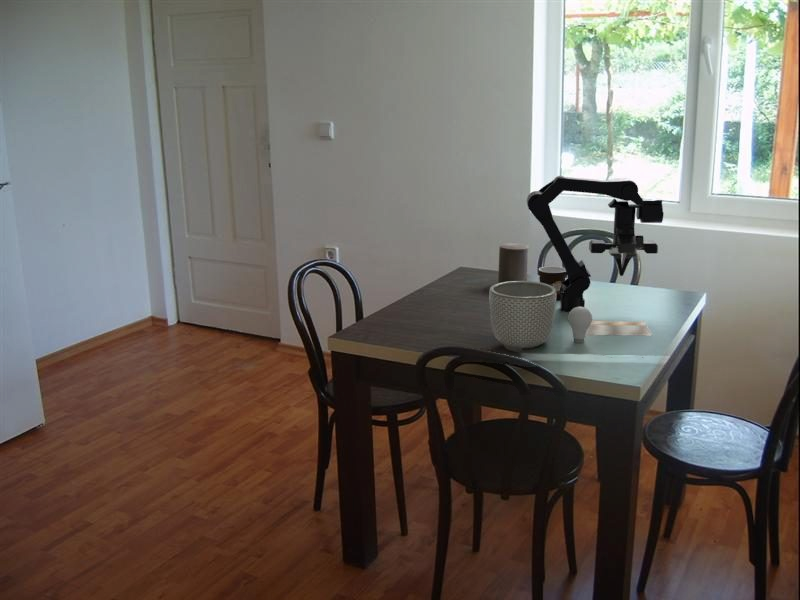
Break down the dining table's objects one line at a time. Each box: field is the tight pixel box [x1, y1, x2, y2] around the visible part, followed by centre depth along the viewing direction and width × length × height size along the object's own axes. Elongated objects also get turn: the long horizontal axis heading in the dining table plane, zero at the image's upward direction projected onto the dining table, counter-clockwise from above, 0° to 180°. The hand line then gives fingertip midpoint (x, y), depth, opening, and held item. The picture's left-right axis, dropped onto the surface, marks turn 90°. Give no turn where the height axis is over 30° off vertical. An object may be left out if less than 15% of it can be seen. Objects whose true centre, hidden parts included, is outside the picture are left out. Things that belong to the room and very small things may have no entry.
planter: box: [488, 280, 557, 353], centre depth 215 cm, size 17×17×16 cm
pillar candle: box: [497, 241, 530, 284], centre depth 276 cm, size 10×10×15 cm
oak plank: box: [590, 320, 646, 326], centre depth 234 cm, size 20×9×1 cm, turn 84°
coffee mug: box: [538, 266, 568, 302], centre depth 258 cm, size 12×9×10 cm
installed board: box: [585, 325, 653, 337], centre depth 225 cm, size 20×9×2 cm, turn 84°
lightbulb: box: [567, 307, 593, 344], centre depth 215 cm, size 6×6×11 cm
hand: (621, 275), depth 240 cm, fingers closed
